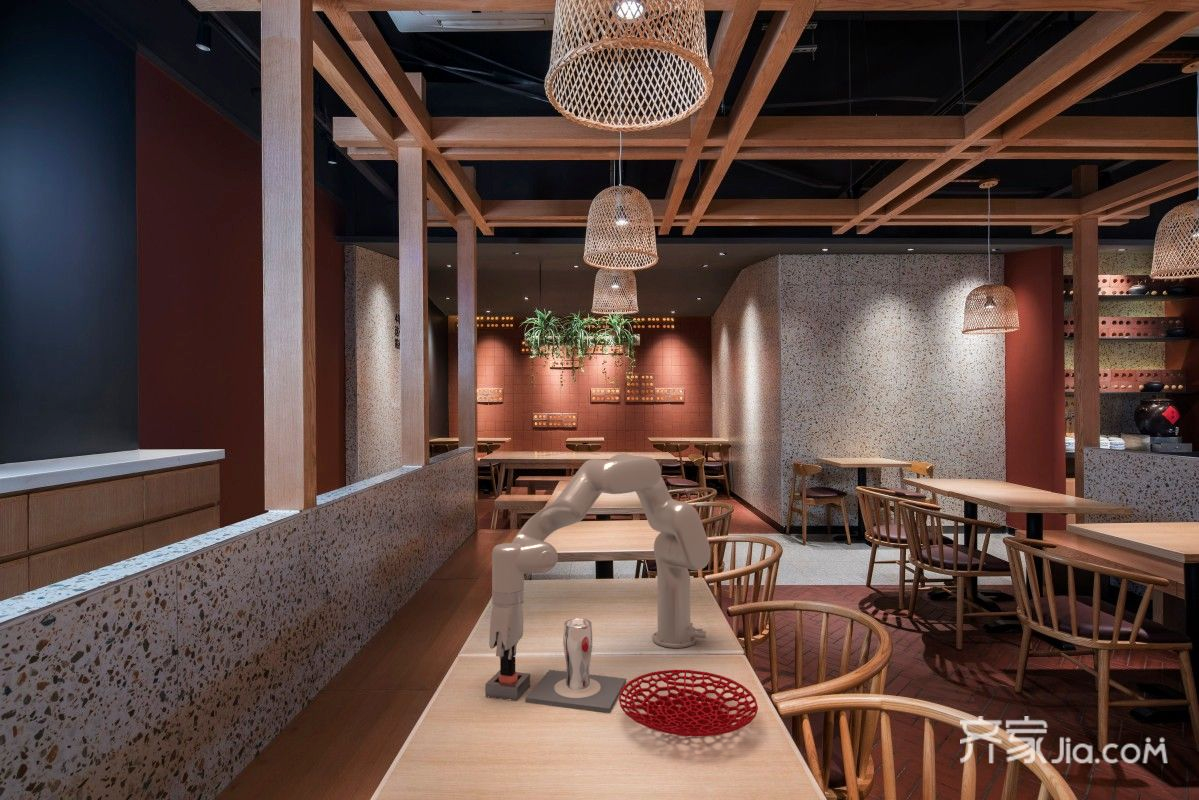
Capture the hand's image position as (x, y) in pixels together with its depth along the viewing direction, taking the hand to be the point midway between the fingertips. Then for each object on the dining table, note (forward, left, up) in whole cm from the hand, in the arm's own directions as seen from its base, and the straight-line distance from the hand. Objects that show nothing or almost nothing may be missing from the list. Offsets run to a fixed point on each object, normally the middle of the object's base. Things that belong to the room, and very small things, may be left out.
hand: (507, 674), depth 148 cm
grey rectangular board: (-16, -4, -4) cm, 17 cm away
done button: (0, 0, -3) cm, 3 cm away
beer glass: (-16, -4, -3) cm, 17 cm away
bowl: (-43, +3, -4) cm, 43 cm away
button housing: (0, 0, -4) cm, 4 cm away
